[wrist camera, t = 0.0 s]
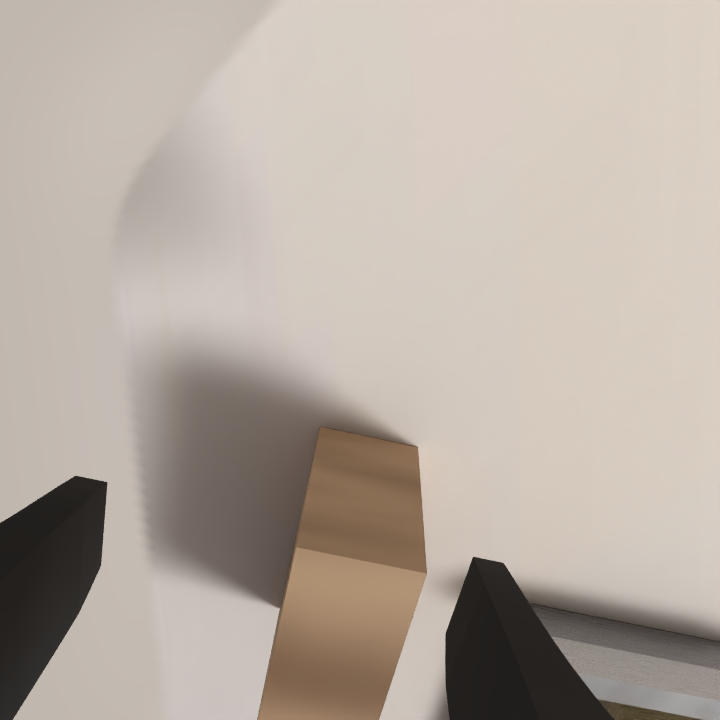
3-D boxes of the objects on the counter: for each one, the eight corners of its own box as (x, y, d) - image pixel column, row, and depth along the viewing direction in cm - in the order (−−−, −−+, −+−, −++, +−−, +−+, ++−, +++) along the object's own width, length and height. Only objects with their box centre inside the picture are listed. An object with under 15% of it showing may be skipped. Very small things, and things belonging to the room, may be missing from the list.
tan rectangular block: (365, 624, 27) (358, 781, 21) (280, 607, 27) (248, 761, 21) (417, 446, 24) (426, 573, 18) (320, 425, 23) (296, 547, 18)
